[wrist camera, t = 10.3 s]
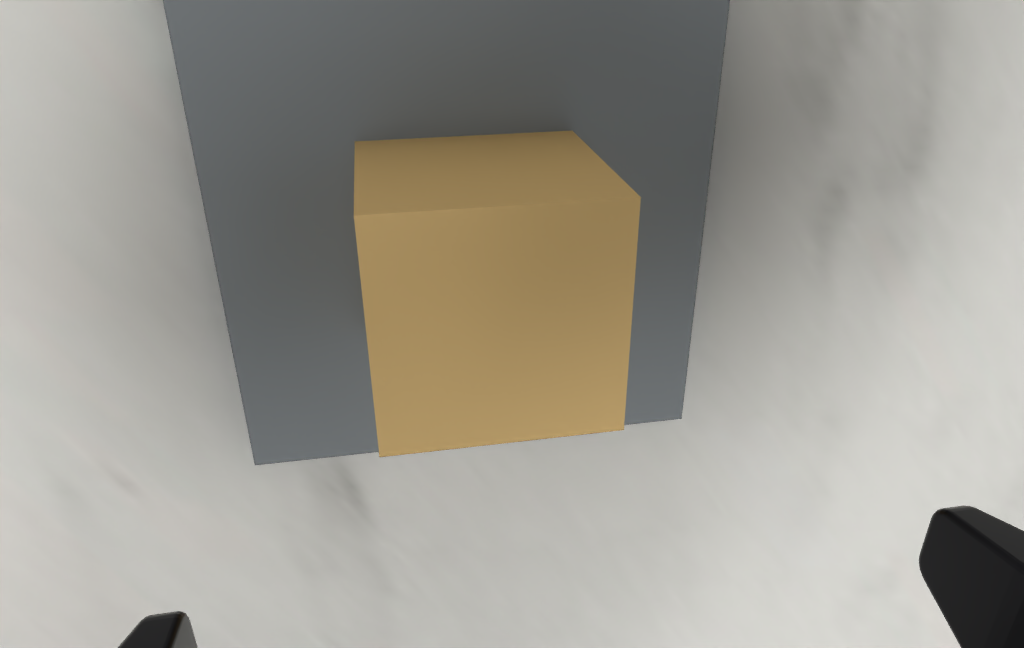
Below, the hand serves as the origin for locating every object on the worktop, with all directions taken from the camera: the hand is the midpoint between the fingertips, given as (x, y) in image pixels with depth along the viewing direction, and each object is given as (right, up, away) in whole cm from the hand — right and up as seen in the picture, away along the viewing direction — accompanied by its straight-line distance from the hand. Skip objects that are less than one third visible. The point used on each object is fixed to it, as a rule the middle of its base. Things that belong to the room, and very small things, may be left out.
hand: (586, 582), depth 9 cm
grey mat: (-2, +5, +10) cm, 12 cm away
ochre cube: (-2, +5, +10) cm, 11 cm away
